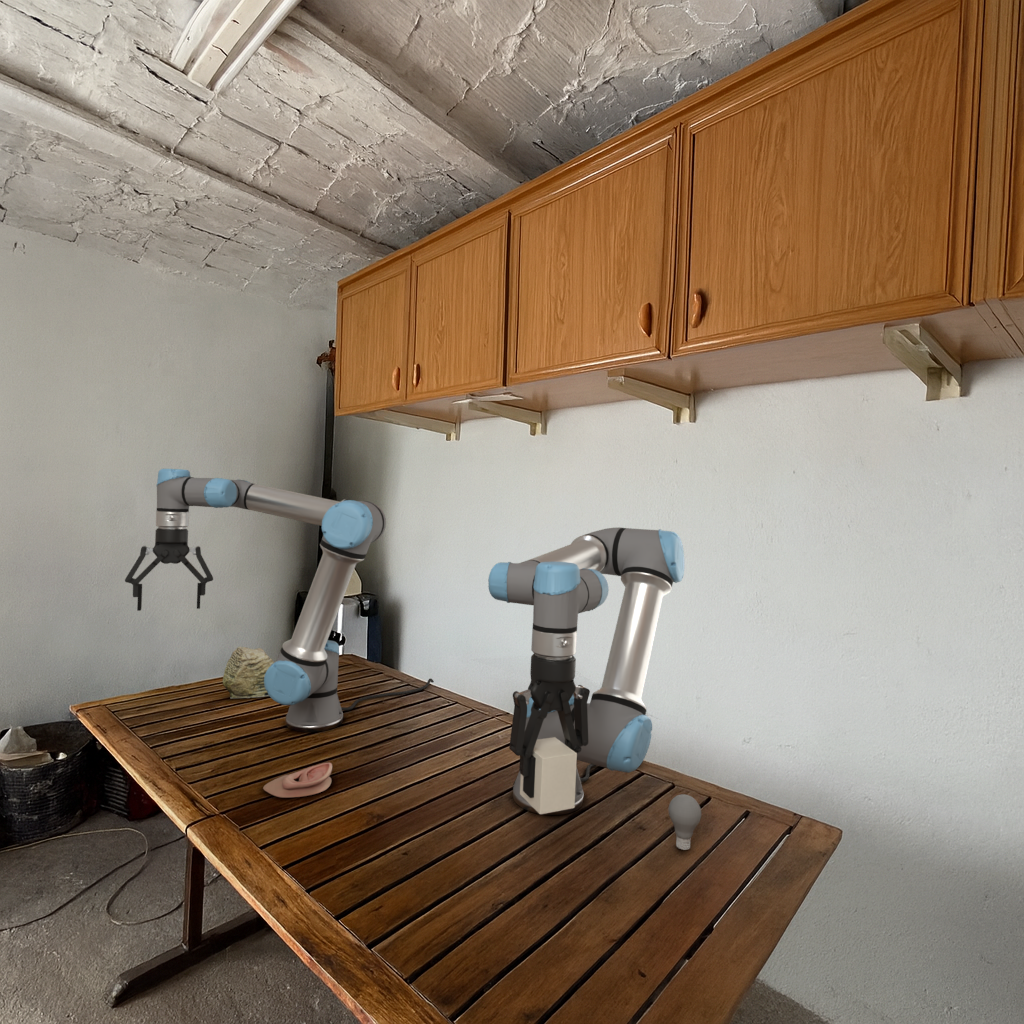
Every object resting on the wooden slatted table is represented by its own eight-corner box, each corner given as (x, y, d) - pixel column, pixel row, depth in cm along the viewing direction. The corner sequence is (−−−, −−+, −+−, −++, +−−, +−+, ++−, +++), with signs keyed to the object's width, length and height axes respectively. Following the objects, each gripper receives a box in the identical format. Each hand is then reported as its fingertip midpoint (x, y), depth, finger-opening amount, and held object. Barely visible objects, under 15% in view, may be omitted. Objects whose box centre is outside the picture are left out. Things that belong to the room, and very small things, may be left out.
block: (519, 794, 109) (522, 741, 109) (552, 788, 112) (555, 736, 111) (539, 814, 102) (542, 758, 102) (574, 808, 105) (577, 753, 104)
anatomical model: (255, 775, 133) (285, 754, 145) (254, 793, 133) (285, 771, 145) (313, 783, 131) (339, 761, 142) (312, 802, 131) (338, 779, 142)
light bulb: (662, 839, 122) (664, 788, 122) (692, 839, 123) (695, 788, 122) (672, 857, 116) (675, 803, 116) (704, 857, 117) (707, 803, 116)
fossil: (218, 695, 195) (220, 647, 195) (278, 685, 208) (279, 640, 207) (228, 703, 189) (230, 653, 188) (289, 692, 201) (290, 645, 201)
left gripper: (114, 527, 157) (111, 613, 157) (225, 529, 168) (222, 609, 168) (117, 526, 163) (115, 608, 164) (223, 527, 174) (221, 604, 175)
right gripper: (510, 664, 99) (504, 810, 99) (614, 656, 107) (608, 791, 107) (491, 652, 105) (485, 789, 106) (591, 646, 114) (585, 773, 114)
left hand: (169, 608), depth 166 cm, fingers open, 13 cm apart
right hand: (547, 790), depth 107 cm, fingers closed on block, 6 cm apart
